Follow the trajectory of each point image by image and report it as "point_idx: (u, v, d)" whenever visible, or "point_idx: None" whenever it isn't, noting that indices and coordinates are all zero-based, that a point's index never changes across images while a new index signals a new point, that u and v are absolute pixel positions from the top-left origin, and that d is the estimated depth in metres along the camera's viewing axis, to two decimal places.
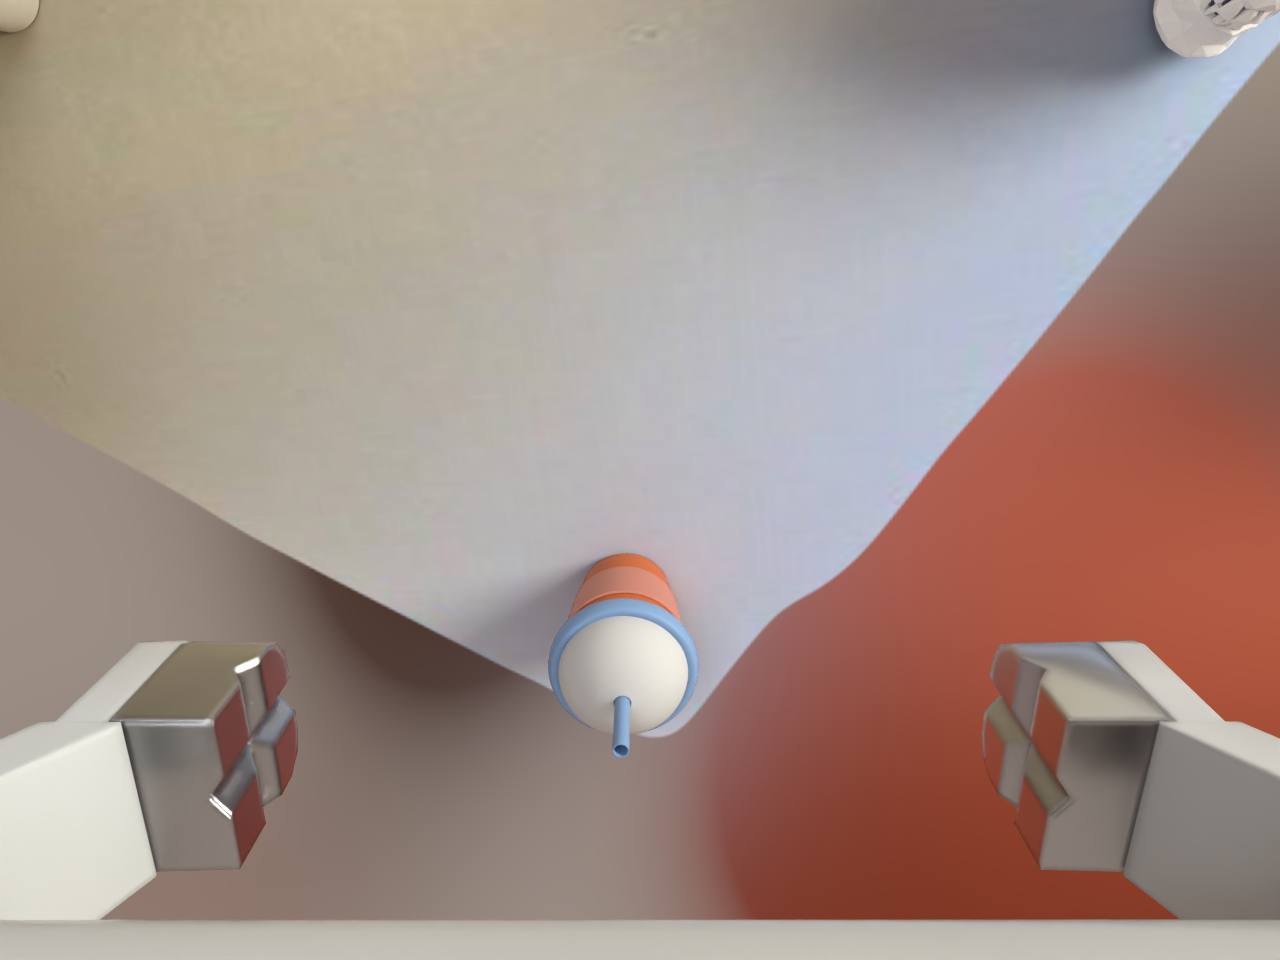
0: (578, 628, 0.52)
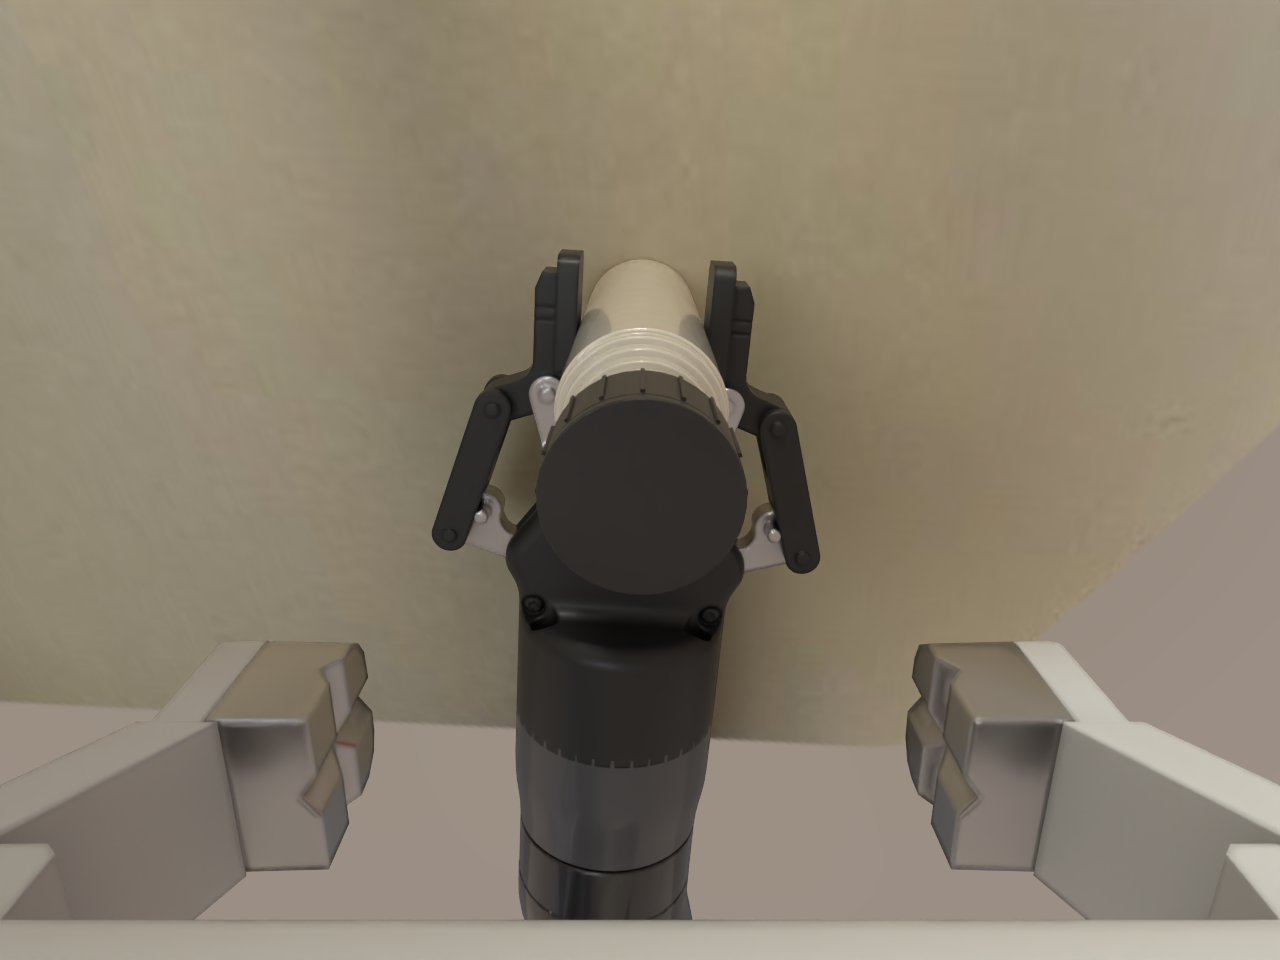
0: None
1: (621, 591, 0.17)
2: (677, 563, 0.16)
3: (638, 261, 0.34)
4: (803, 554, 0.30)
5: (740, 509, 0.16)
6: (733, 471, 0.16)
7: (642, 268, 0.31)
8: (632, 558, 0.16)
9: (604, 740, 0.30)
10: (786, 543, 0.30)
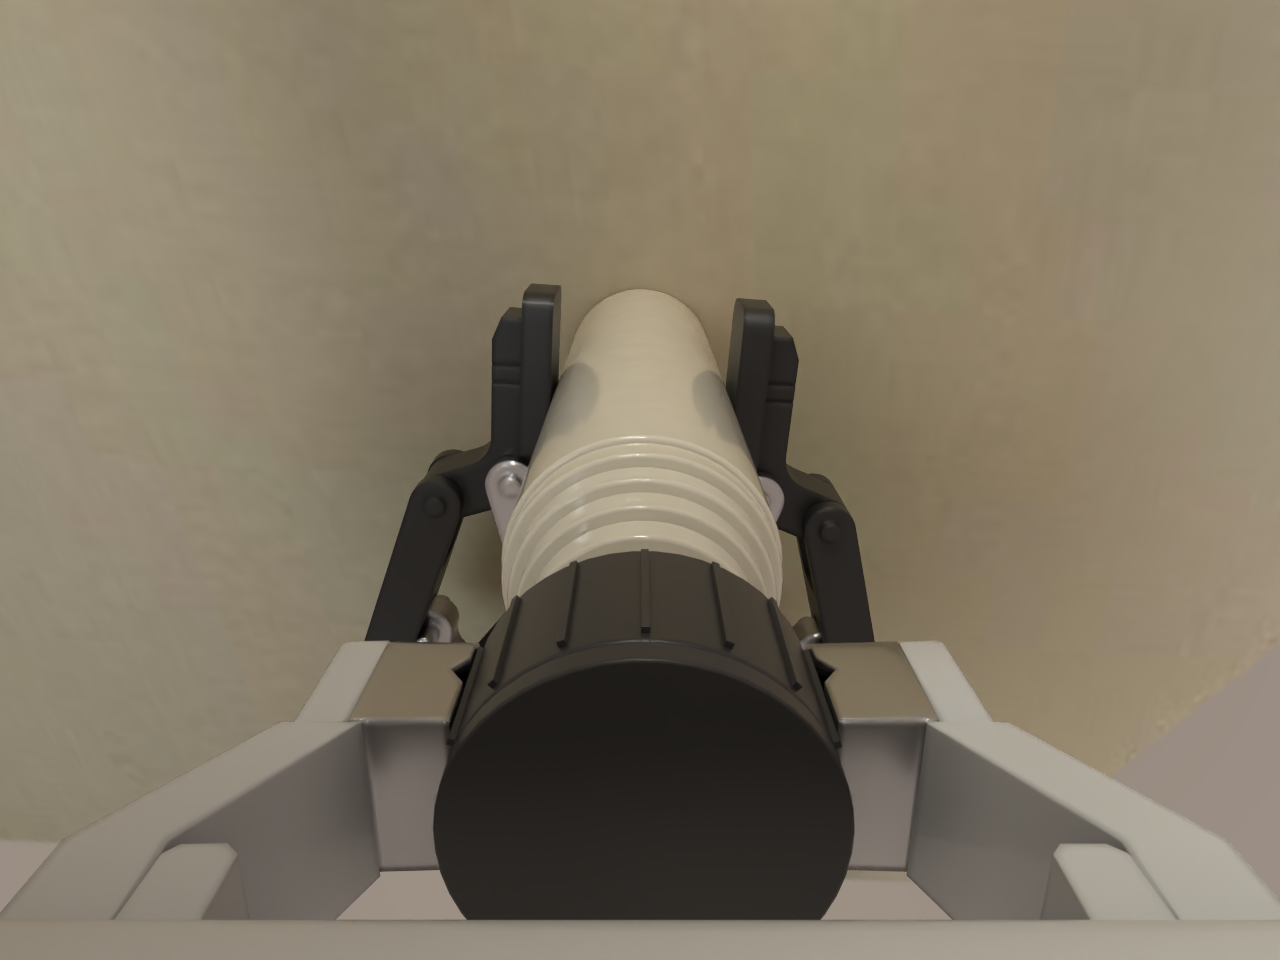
0: None
1: None
2: None
3: (636, 292, 0.26)
4: None
5: (841, 857, 0.08)
6: (829, 790, 0.08)
7: (642, 305, 0.23)
8: None
9: None
10: None
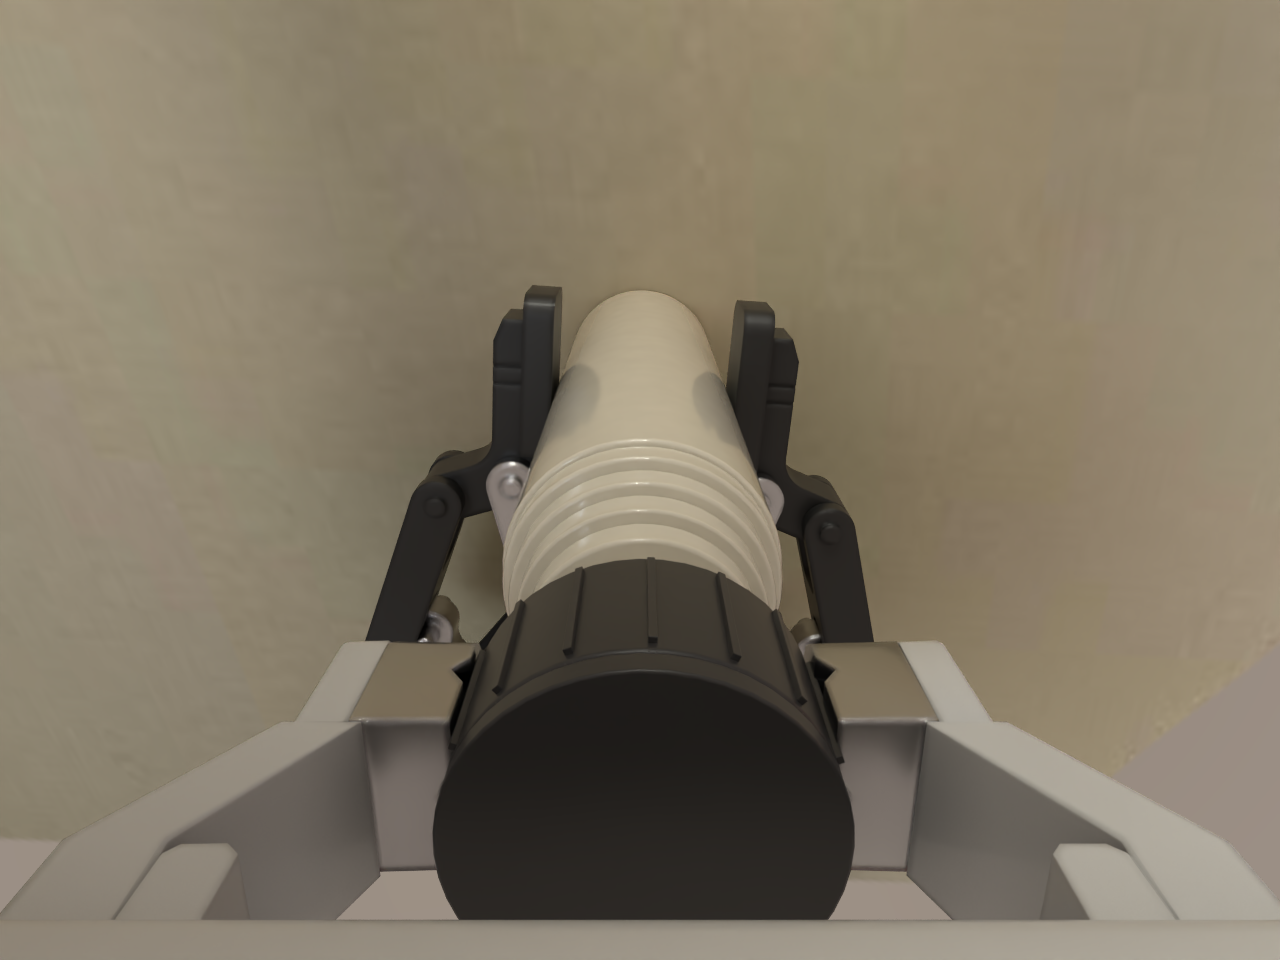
0: None
1: (840, 890, 0.08)
2: (787, 796, 0.08)
3: (637, 294, 0.26)
4: None
5: (670, 682, 0.07)
6: (582, 695, 0.07)
7: (642, 306, 0.23)
8: (768, 870, 0.08)
9: None
10: None
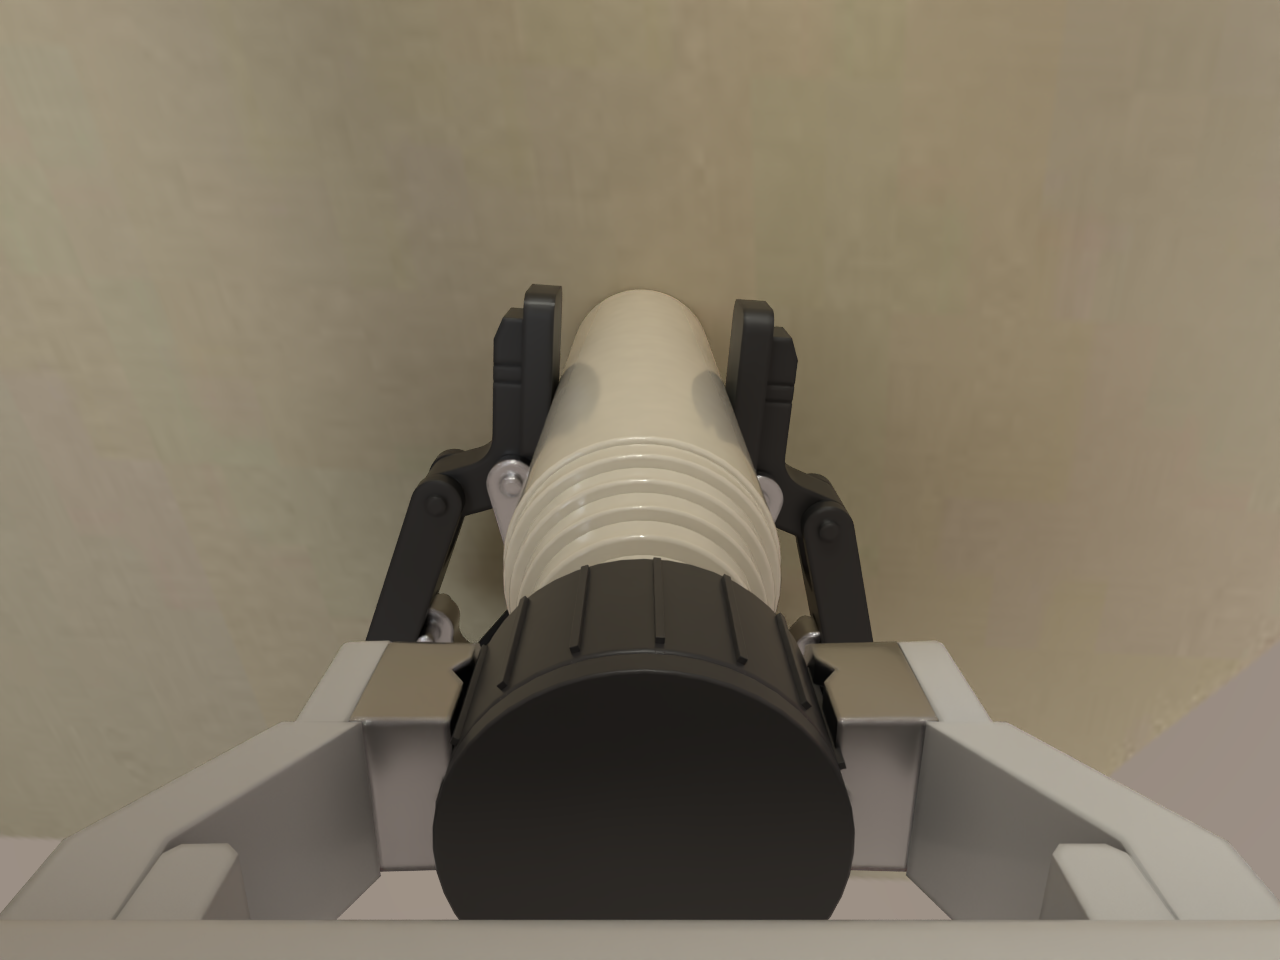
0: None
1: (703, 682, 0.07)
2: (575, 734, 0.08)
3: (637, 293, 0.26)
4: None
5: (444, 828, 0.08)
6: (462, 891, 0.08)
7: (642, 305, 0.24)
8: (671, 748, 0.08)
9: None
10: None
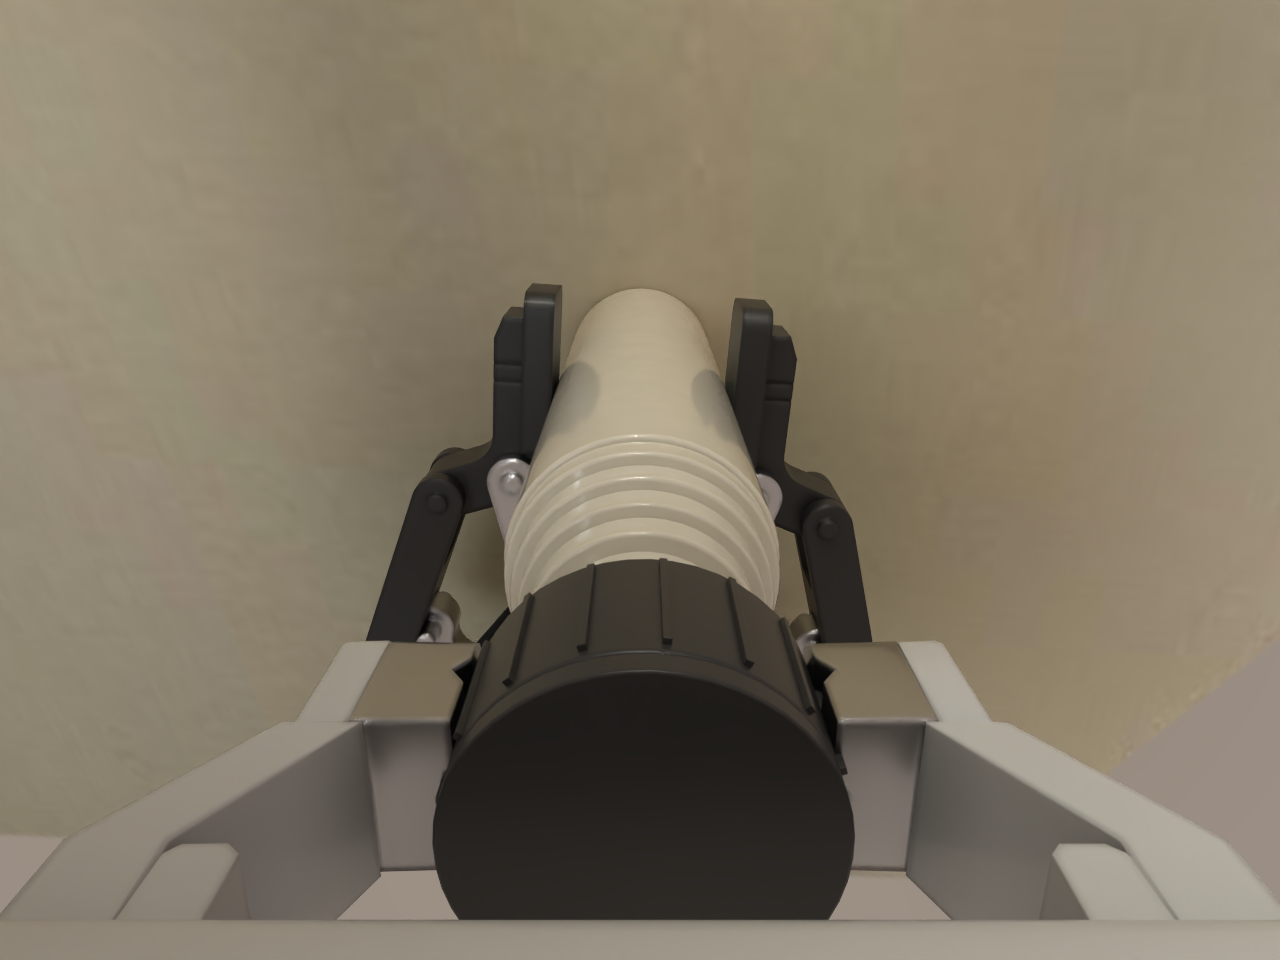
0: None
1: (441, 804, 0.08)
2: (502, 900, 0.08)
3: (636, 292, 0.26)
4: None
5: None
6: None
7: (642, 304, 0.24)
8: (517, 828, 0.08)
9: None
10: None
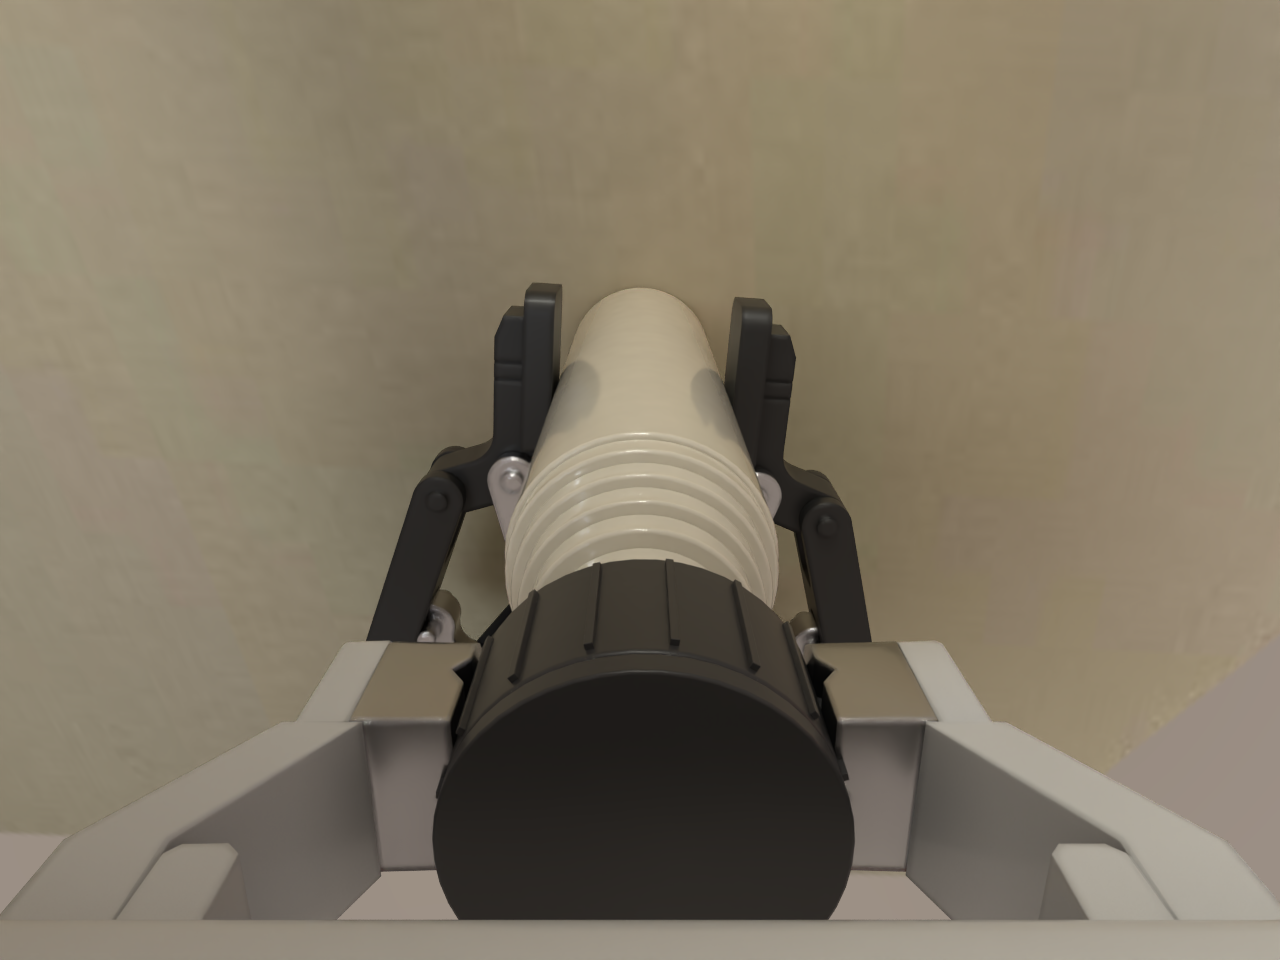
0: None
1: None
2: None
3: (636, 291, 0.26)
4: None
5: (835, 888, 0.08)
6: (834, 822, 0.08)
7: (642, 303, 0.24)
8: None
9: None
10: None
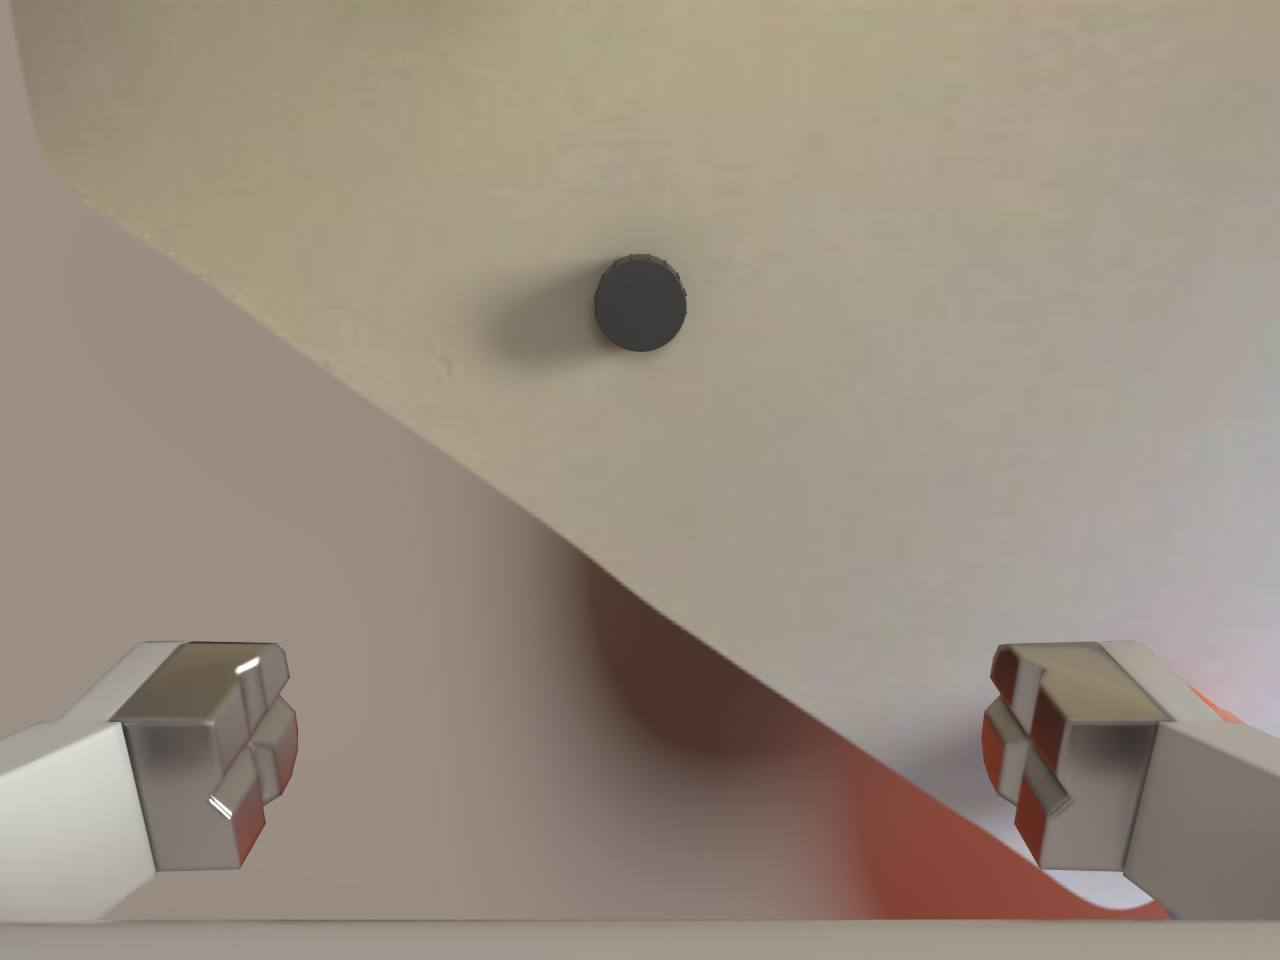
0: None
1: (682, 322, 0.37)
2: (672, 295, 0.37)
3: None
4: None
5: (652, 264, 0.36)
6: (634, 264, 0.36)
7: None
8: (667, 315, 0.37)
9: None
10: None
